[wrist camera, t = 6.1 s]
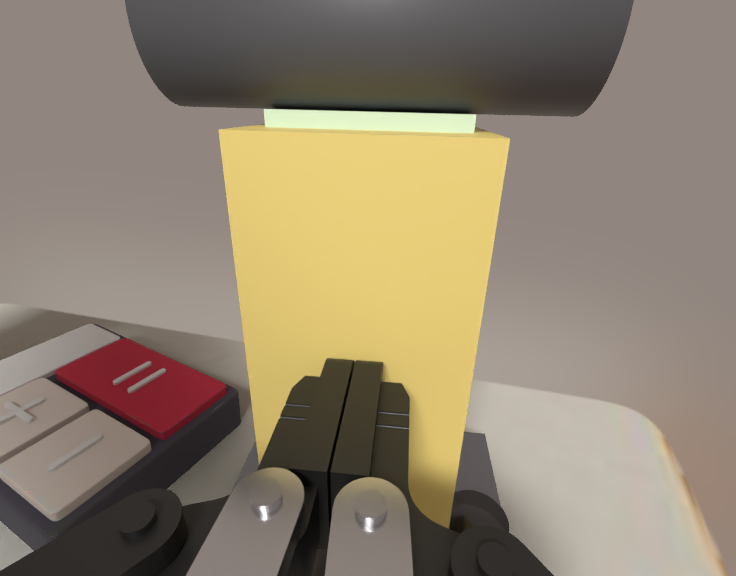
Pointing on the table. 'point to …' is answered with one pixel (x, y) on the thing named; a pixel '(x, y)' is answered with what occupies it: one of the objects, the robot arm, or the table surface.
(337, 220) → the yellow toy mallet
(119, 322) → the table surface
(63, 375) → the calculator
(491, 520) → the base
